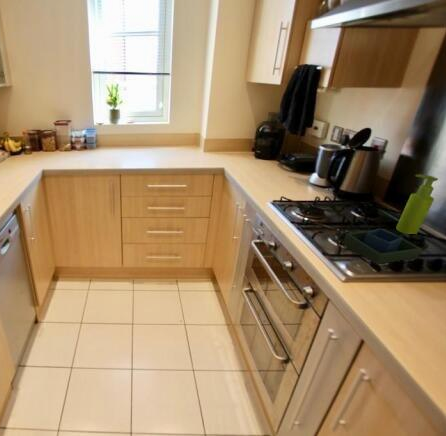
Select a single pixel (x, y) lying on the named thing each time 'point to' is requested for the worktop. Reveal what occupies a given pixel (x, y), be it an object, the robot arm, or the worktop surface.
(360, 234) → the big bin
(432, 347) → the worktop surface
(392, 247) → the small bin
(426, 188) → the soap dispenser
